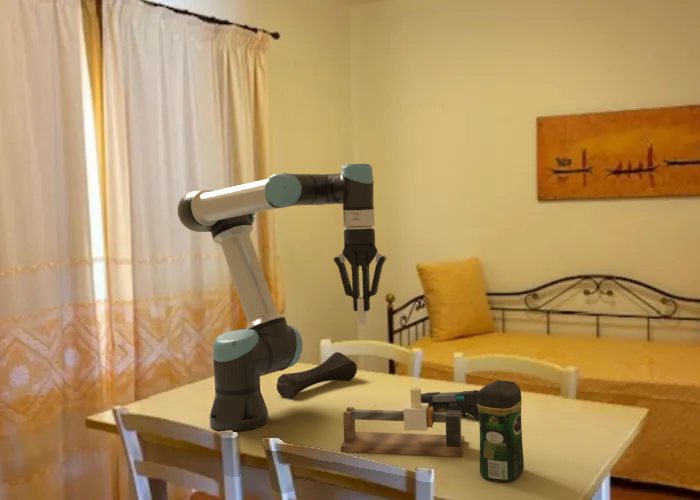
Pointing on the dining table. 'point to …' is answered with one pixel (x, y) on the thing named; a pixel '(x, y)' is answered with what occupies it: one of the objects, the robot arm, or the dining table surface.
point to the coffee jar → (500, 431)
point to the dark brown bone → (317, 375)
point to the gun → (454, 402)
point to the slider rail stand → (400, 441)
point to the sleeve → (415, 412)
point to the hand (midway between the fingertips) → (362, 324)
